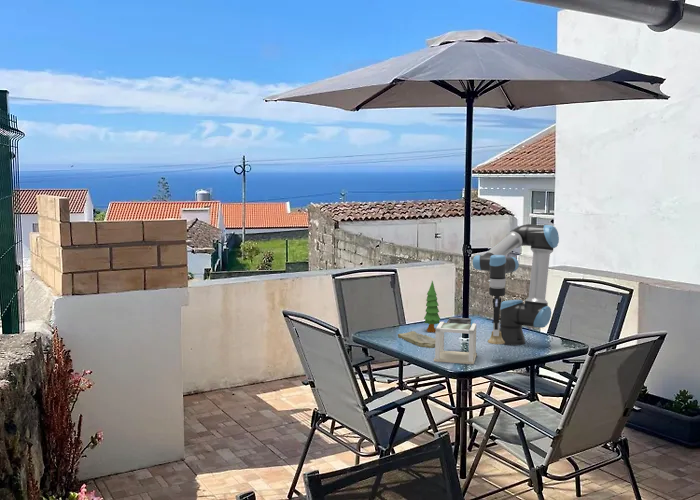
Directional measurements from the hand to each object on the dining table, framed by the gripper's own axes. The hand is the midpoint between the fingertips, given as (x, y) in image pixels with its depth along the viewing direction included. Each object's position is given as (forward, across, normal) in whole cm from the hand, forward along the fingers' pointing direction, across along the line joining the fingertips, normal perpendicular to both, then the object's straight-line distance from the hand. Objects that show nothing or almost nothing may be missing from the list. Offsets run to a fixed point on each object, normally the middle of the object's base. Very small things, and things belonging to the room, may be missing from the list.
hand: (496, 334), depth 333 cm
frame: (+13, +2, -19) cm, 23 cm away
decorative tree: (+13, -57, -39) cm, 71 cm away
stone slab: (+13, -29, -42) cm, 53 cm away
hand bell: (+4, 0, 0) cm, 4 cm away
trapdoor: (-2, -5, -19) cm, 20 cm away
